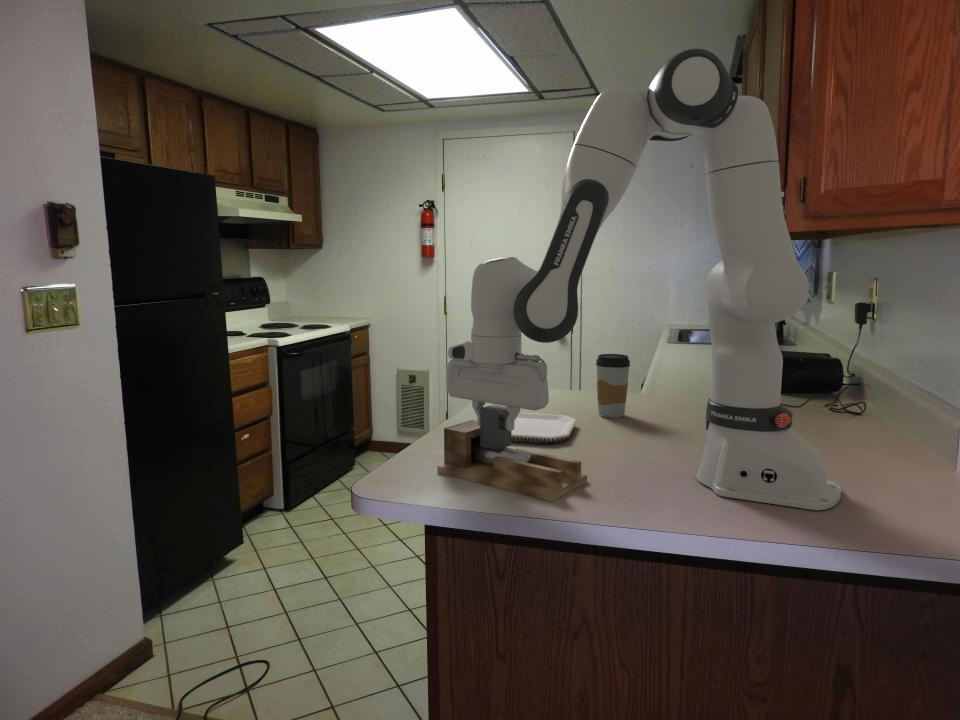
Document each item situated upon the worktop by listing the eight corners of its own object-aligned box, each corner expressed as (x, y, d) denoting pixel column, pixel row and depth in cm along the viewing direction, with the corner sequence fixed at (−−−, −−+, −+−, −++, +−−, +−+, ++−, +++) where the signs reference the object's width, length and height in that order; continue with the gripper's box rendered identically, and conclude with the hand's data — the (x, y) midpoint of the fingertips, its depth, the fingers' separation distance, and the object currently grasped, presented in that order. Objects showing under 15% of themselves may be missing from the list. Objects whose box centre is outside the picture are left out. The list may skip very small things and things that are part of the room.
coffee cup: (635, 416, 160) (637, 356, 158) (611, 420, 156) (613, 359, 154) (611, 410, 167) (612, 352, 165) (587, 414, 163) (588, 355, 160)
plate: (470, 441, 139) (470, 431, 139) (493, 419, 159) (494, 410, 158) (566, 449, 133) (566, 438, 133) (578, 425, 153) (578, 415, 153)
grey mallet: (534, 469, 114) (535, 411, 113) (521, 475, 111) (522, 415, 109) (472, 455, 123) (472, 400, 121) (458, 460, 119) (458, 404, 118)
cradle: (587, 481, 112) (588, 438, 111) (551, 501, 103) (551, 454, 102) (477, 456, 127) (477, 418, 126) (437, 472, 117) (437, 430, 116)
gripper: (556, 354, 110) (555, 433, 112) (462, 344, 122) (462, 416, 124) (536, 358, 105) (535, 441, 107) (440, 348, 117) (441, 422, 119)
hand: (495, 427), depth 116 cm, fingers closed on grey mallet, 4 cm apart
